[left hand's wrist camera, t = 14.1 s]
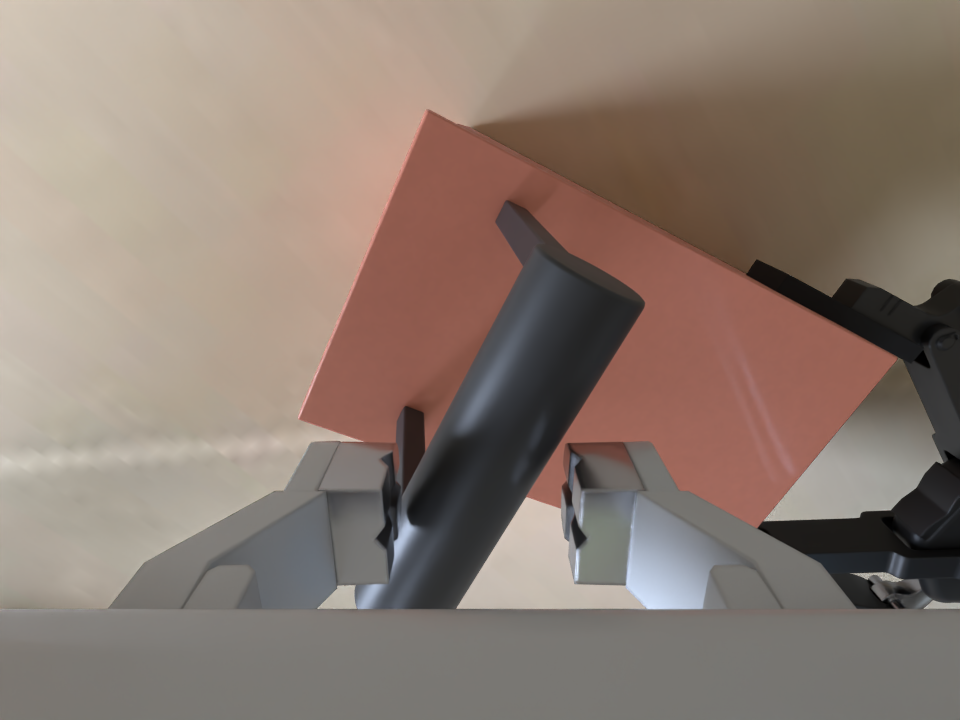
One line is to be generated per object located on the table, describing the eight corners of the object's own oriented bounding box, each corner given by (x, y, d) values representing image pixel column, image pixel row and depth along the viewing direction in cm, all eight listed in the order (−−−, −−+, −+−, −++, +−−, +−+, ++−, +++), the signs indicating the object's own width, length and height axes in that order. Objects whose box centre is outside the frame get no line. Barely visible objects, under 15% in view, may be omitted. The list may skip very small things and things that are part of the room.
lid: (302, 403, 18) (218, 642, 10) (426, 108, 15) (441, 126, 7) (714, 547, 23) (873, 787, 15) (877, 345, 20) (1190, 517, 12)
